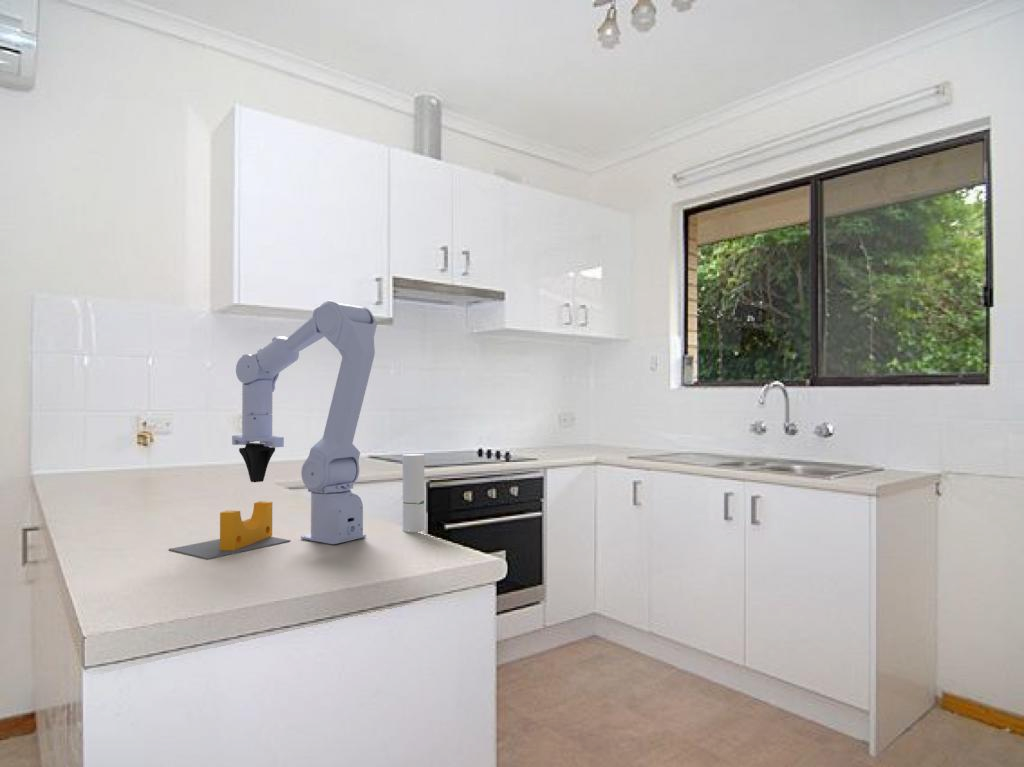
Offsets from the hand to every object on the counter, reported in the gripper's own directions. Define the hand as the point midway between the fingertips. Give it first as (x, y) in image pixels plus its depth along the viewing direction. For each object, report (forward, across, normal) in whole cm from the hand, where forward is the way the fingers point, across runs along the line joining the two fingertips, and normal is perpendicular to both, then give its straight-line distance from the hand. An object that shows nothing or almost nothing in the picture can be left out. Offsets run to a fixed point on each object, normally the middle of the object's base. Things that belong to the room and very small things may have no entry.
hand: (257, 481), depth 131 cm
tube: (+10, +28, +16) cm, 34 cm away
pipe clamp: (+9, +10, -10) cm, 17 cm away
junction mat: (+9, +10, -12) cm, 18 cm away
